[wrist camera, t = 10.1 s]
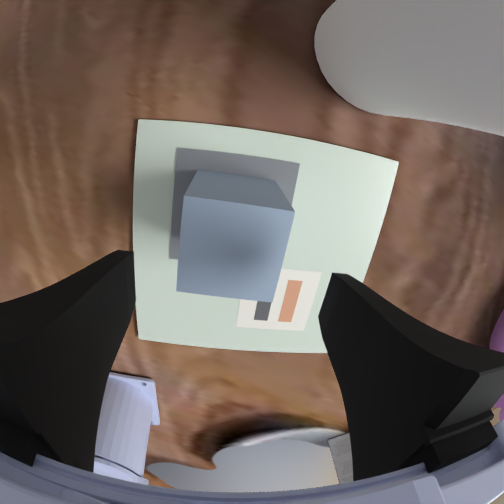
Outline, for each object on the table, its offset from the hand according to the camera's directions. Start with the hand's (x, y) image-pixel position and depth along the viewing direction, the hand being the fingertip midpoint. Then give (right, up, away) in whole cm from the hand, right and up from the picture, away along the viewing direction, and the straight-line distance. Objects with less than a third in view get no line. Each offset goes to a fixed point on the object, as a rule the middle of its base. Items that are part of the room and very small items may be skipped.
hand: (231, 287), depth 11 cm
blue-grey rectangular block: (0, +4, +7) cm, 8 cm away
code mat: (+1, +1, +9) cm, 9 cm away
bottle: (+8, +13, +4) cm, 16 cm away
